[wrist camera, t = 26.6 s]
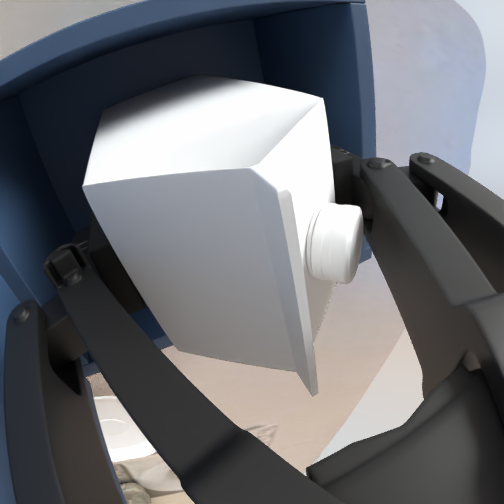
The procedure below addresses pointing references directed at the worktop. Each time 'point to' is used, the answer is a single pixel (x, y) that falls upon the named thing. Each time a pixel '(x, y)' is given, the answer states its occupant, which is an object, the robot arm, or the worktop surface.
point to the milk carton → (226, 216)
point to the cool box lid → (3, 499)
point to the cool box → (146, 79)
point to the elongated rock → (135, 494)
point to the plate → (120, 431)
